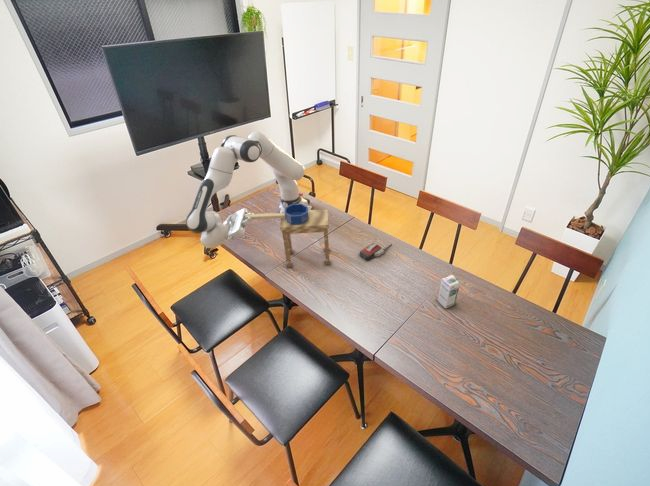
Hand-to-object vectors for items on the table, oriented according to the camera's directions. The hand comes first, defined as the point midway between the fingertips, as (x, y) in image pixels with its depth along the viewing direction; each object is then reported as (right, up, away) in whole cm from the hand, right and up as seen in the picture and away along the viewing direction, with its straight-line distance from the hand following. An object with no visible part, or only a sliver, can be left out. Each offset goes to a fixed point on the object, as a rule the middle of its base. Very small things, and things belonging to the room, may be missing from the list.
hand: (252, 215), depth 158 cm
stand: (+25, -22, +19) cm, 38 cm away
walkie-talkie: (+61, -19, +24) cm, 68 cm away
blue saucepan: (+12, -1, +3) cm, 12 cm away
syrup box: (+92, -41, -6) cm, 100 cm away
